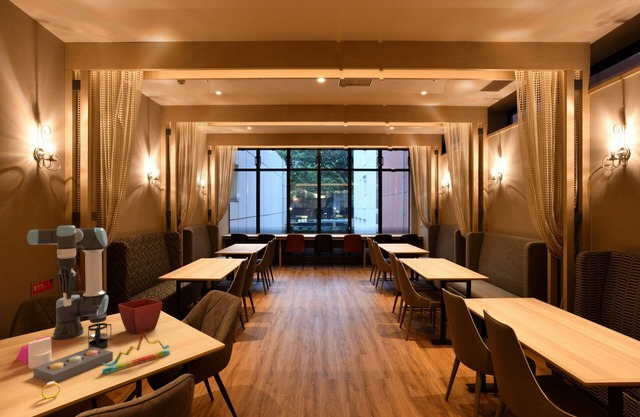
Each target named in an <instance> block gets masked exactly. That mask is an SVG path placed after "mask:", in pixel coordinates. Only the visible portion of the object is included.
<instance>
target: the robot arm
mask: <svg viewBox="0 0 640 417" xmlns="http://www.w3.org/2000/svg"><path fill="white" fill-rule="evenodd" d="M27 242H28V244H29V245H33V246H35V245H36V246H37V245H40V246H41V245H56V250H57V251H56V255H57V256H56V257H57V262H56V263H57V267H60V268H59V270H57V271H56V275H57V277H58V278H57V279H58V285H59V290H60V291H61V292H62V294H63V297H61V298H59V299H57V300H56V303H55V304H56V305H55V312H56V314H55V315H56V317H55V318H56V320H55V321H56V324H55V326H54V330H53V332H52V338H53V339H54V340H68V339H71V338H75V337H79V336H81V335H82V334H84V327H83V325H82V322H81V320H80V319H81V318H82V317H91V316H94V315H97V308H93V307H94V306H97V305H102V306H101V307H99V309H98V315H102V314H104V315H105V313H106V311H107V309H108V304H109V295H107V294H106V291H104V290H103V260H102V254H103V251H104V250H105V248H106V247H107V246H108V235H107V232H106V230H105V229H104V228H103V227H79V228H76V226H75V225H59V226H57V227H56V228H54V229H48V228H47V229H46V228H45V229H31V230H29V231H28V233H27ZM77 248H81V250H82V252H84V257H85V258H84V259H85V260H84V262H85V264H84V266H85V267H84V268H85V269H84V270H85V292H84V293H83V295H82V297H81V296H80V295H79V294H72V292H74V291H75V288H76V282H77V280H76V279H77V275H78V272H77V271H75V268H74V266H75V265H76V264H77V257H76V256H77Z"/></svg>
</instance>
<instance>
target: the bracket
mask: <svg viewBox="0 0 640 417" xmlns="http://www.w3.org/2000/svg"><path fill="white" fill-rule="evenodd" d="M47 337H51V336H50V335H47V336H43V337H39V338H36V340H39V339H43V338H47ZM36 340H35V341H36ZM16 360H18V361H20V362H22V363H24V364H25V365H27V364H28V344H27V345H22V346H21V348H20V350H19V352H18V354H17V356H16Z"/></svg>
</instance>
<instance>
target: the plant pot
mask: <svg viewBox="0 0 640 417" xmlns="http://www.w3.org/2000/svg"><path fill="white" fill-rule="evenodd" d="M162 308H163V302H162V301H160V300H156V299H153V298H149V297H147V298H146V297H145V298H143V299H142V298H140V299H136V300H132V301H126V302H123V303H118V310H119V314H120V319H121V321H122V324H123V327H124V329H125V331H127V332H129V333H132V334H134V335H137V334H141V333H142V332H144V333H145V332H149V331H152V330H155V329H156V328H157V324H158V321H159V320H160V319H159V318H160V315H161V313H162V312H161V311H162Z"/></svg>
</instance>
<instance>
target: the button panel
mask: <svg viewBox="0 0 640 417" xmlns="http://www.w3.org/2000/svg"><path fill="white" fill-rule="evenodd" d="M90 350H98V354H95V355H93V356H90V357H89V356H86V352H88V351H90ZM74 356H81V360H80V361H77V362H74V363H70V362H69V358H71V357H74ZM113 360H114V351H111V350H106V349H100V348H96V347H91V348H89V349H88V348H86V349H83V350H81V351H78V352H74V353H72V354H69V355H67V356H64V357H61V358H60V357H59V358H58V359H55V360H53V361H52V362H49V363H46V364H44V365H41V366H38V367H35V368H33V369H32V370H33V378H35V379H38V380H41V381H44V382H47V383H49V382H51V381H55V383H58V384H59V383H60V382H62V381H64V380H67V379H70V378H72V377H74V376H77V375H79V374H82V373H84V372H87V371H90V370H92V369H94V368H97V367H99V366H102V365H103V364H102V363H104V364H108V363H109V362H111V361H113ZM59 362H62V363H63V366H64V367H61V368H58V369H56V370H51V369H50V365H52V364H54V363H59Z"/></svg>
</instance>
